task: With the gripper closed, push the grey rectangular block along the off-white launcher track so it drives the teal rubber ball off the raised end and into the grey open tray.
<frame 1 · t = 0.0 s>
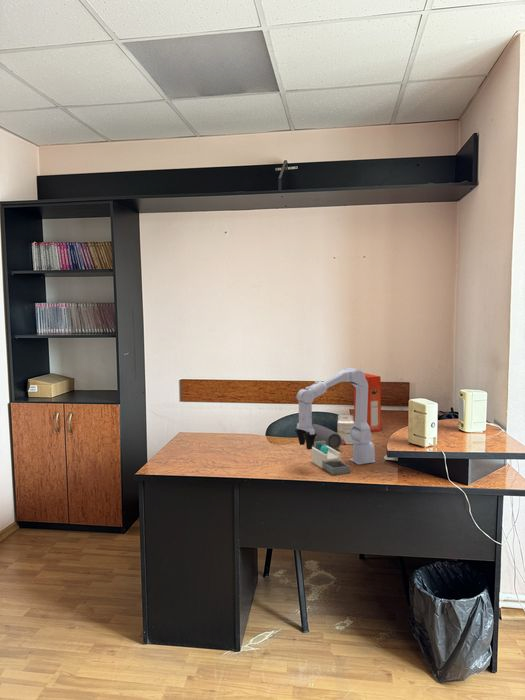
hand: (305, 446, 213), 10 cm above the table, tool pointing down, fingers open, 7 cm apart
ink cartridge box: (345, 443, 254), on the table
grey rectangular block: (320, 445, 224), point 7 cm above the table, slide at 0.0 cm
launcher track: (326, 464, 219), on the table
ball: (324, 449, 220), point 7 cm above the table, touching launcher track
file binder: (367, 428, 286), on the table
grey open tray: (336, 471, 210), on the table
bluetooth speaker: (323, 446, 250), on the table
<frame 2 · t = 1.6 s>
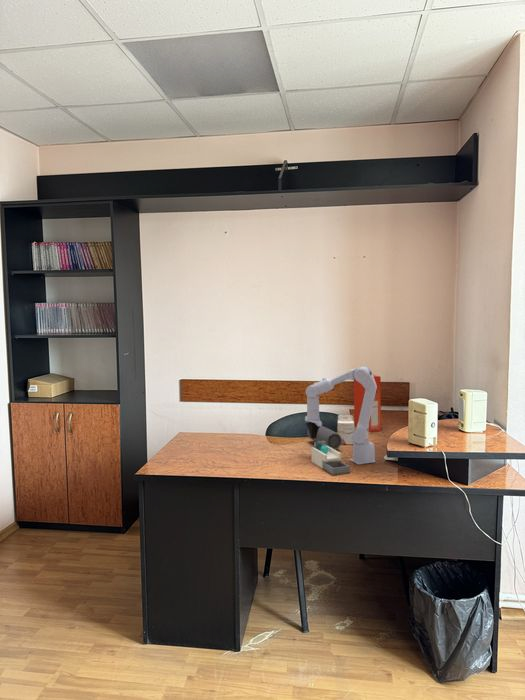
hand: (313, 437, 231), 9 cm above the table, tool pointing down, fingers closed
nothing on the table moved.
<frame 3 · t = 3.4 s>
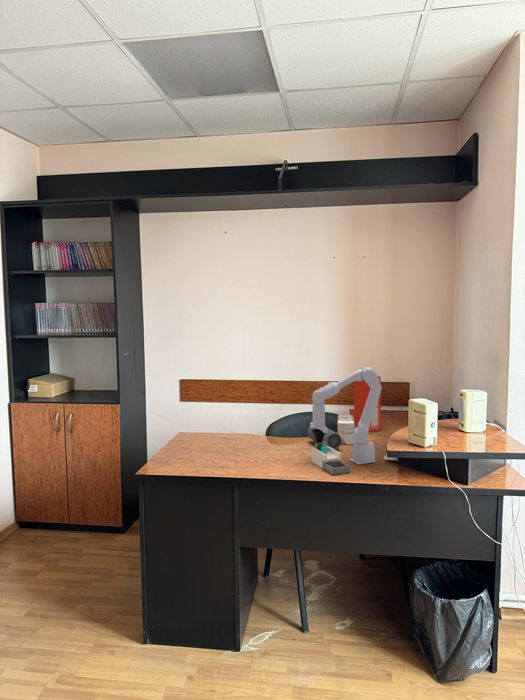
hand: (319, 444, 225), 8 cm above the table, tool pointing down, fingers closed
grey rectangular block: (321, 446, 223), point 7 cm above the table, slide at 1.1 cm, touching gripper
everything else where it was.
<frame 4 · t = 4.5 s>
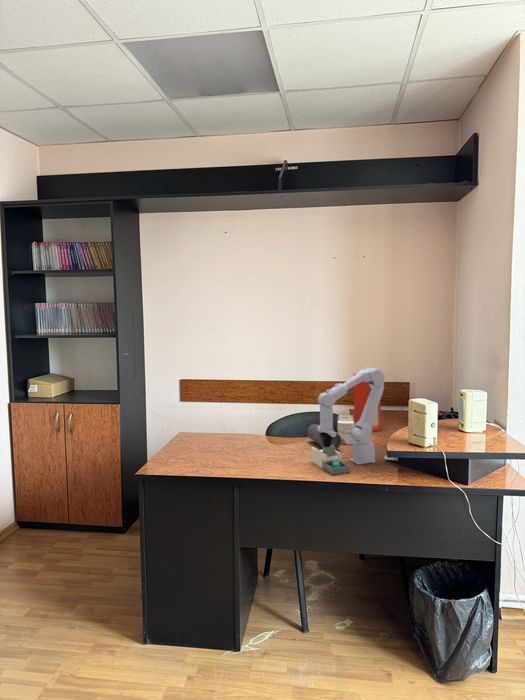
hand: (326, 448, 218), 8 cm above the table, tool pointing down, fingers closed
grey rectangular block: (328, 450, 216), point 7 cm above the table, slide at 8.9 cm, touching gripper
ball: (336, 465, 210), point 3 cm above the table, tilted 20°
everything else where it was.
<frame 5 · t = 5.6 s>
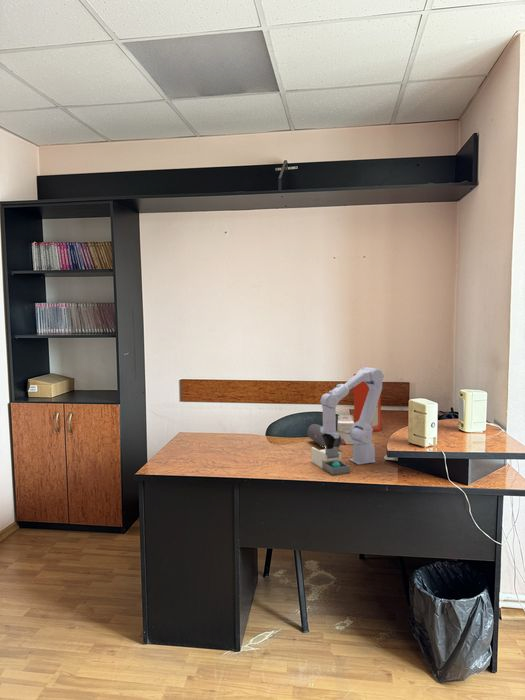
hand: (329, 450, 216), 8 cm above the table, tool pointing down, fingers closed
grey rectangular block: (331, 452, 214), point 7 cm above the table, slide at 11.6 cm, touching gripper
ball: (336, 465, 210), point 2 cm above the table, tilted 27°, touching grey open tray
everything else where it was.
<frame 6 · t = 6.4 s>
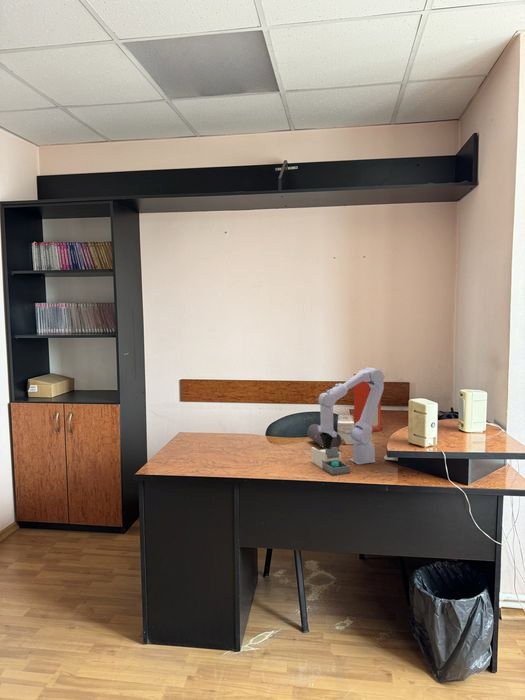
hand: (327, 449, 218), 8 cm above the table, tool pointing down, fingers closed
grey rectangular block: (331, 452, 214), point 7 cm above the table, slide at 11.6 cm
ball: (334, 464, 211), point 2 cm above the table, tilted 15°, touching grey open tray
everything else where it was.
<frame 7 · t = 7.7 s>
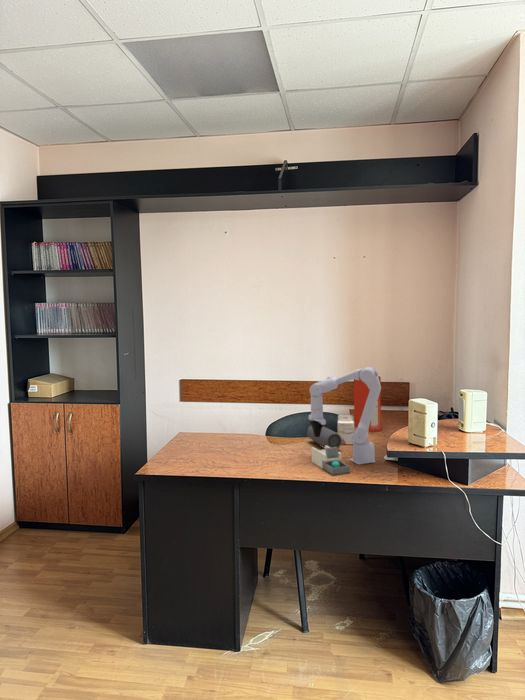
hand: (317, 436, 229), 10 cm above the table, tool pointing down, fingers closed
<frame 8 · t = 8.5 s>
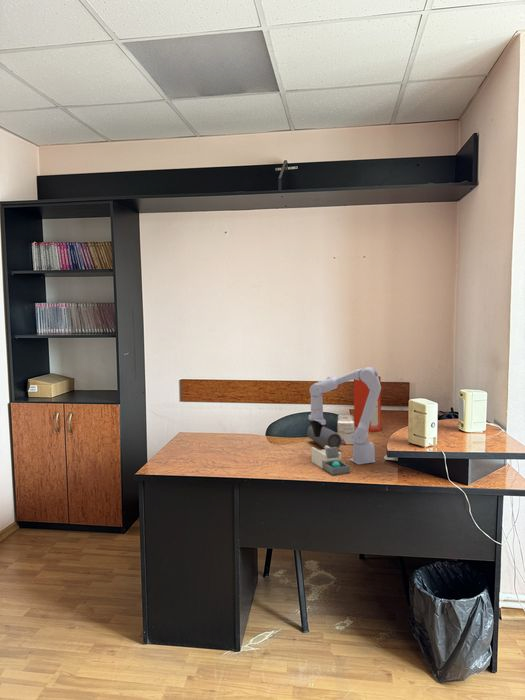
hand: (317, 436, 229), 10 cm above the table, tool pointing down, fingers closed
ball: (336, 465, 210), point 2 cm above the table, tilted 25°, touching grey open tray
everything else where it was.
at the end: ball inside the target area on the grey open tray (0.3 cm from its centre), point 2.4 cm above the grey open tray's base; grey rectangular block slide at 11.6 cm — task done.
